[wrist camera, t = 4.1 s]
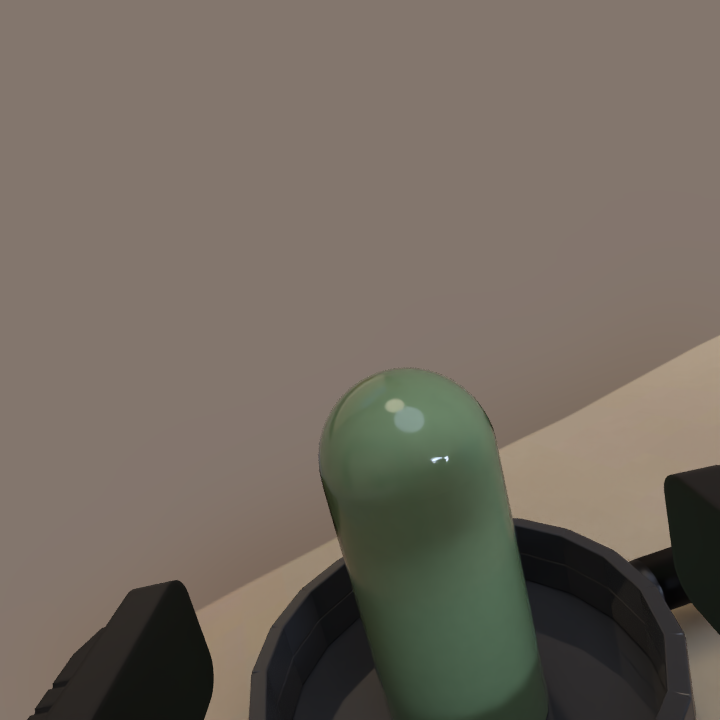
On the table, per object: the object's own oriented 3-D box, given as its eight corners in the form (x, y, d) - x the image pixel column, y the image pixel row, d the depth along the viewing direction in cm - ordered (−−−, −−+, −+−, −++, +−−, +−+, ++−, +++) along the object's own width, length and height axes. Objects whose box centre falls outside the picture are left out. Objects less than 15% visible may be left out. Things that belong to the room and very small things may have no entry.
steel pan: (281, 1089, 10) (234, 973, 9) (277, 640, 22) (256, 576, 21) (843, 851, 11) (835, 735, 10) (551, 549, 23) (539, 486, 22)
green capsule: (410, 802, 14) (302, 426, 11) (375, 664, 18) (294, 378, 16) (583, 737, 14) (511, 365, 12) (506, 619, 19) (444, 336, 17)
